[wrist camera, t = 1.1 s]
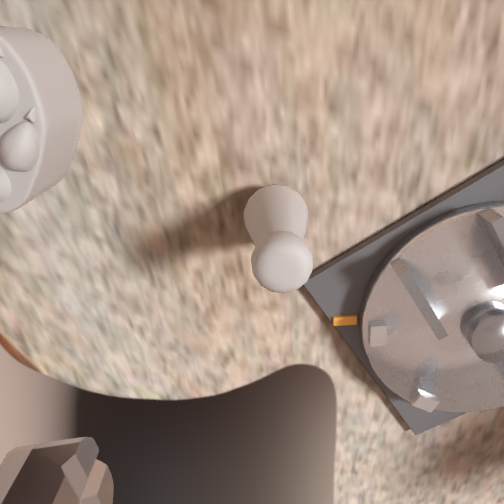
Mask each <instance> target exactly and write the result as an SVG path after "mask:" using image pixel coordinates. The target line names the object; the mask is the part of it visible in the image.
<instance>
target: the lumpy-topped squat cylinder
mask: <svg viewBox="0 0 504 504" xmlns="http://www.w3.org/2000/svg"><path fill="white" fill-rule="evenodd" d="M82 121H83V109H82V103H81V99H80V94H79V90H78V87H77V83H76V80H75V77H74V75H73V72H72V70H71V68H70V66H69V64H68V63H67V61H66V60H65V58H64V56H63V55H62V53H61V52H60V51H59V49H58V48H57V47H56V46H55V45H54V44H53V43H52V42H51V41H50V40H49V39H48V38H47V37H45V36H44V35H42V34H40V33H38V32H36V31H33V30H30V29H24V28H15V27H6V26H0V214H2V213H8V212H12V211H14V210H16V209H18V208H20V207H22V206H23V205H25V204H26V203H28V202H29V201H31V200H32V199H34V198H35V197H37V196H38V195H40V194H42V193H43V192H45V191H46V190H48V189H49V188H51V187H52V186H54V185H55V184H57V183H58V182H60V181H61V180H62V179H63V177H64V176H65V174H66V173H67V171H68V168H69V166H70V164H71V161H72V159H73V156H74V154H75V151H76V148H77V144H78V141H79V137H80V132H81V127H82Z"/></svg>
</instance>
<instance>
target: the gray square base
mask: <svg viewBox="0 0 504 504" xmlns="http://www.w3.org/2000/svg"><path fill="white" fill-rule="evenodd" d="M493 201H504V159H503V160H502V161H500V162H498V163H497V164H495V165H493V166H492V167H490V168H488V169H486V170H485V171H483V172H481V173H480V174H478V175H476V176H475V177H473V178H471V179H469V180H468V181H466V182H464V183H463V184H461V185H459V186H458V187H456V188H454V189H453V190H451V191H449V192H447V193H446V194H444V195H442V196H441V197H439V198H437V199H436V200H434V201H432V202H431V203H429V204H427V205H425V206H424V207H422V208H420V209H419V210H417V211H415V212H414V213H412V214H410V215H408V216H407V217H405V218H403V219H402V220H400V221H398V222H397V223H395V224H393V225H392V226H390V227H388V228H386V229H385V230H383V231H381V232H380V233H378V234H376V235H375V236H373V237H371V238H370V239H368V240H366V241H364V242H363V243H361V244H359V245H358V246H356V247H354V248H353V249H351V250H349V251H347V252H346V253H344V254H342V255H341V256H339V257H337V258H336V259H334V260H332V261H331V262H329V263H327V264H325V265H324V266H322V267H320V268H319V269H317V270H315V271H314V272H312V273H311V275H310V277H309V279H308V281H307V282H306V283H305V284H304V286H305V287H306V289H307V290H308V291H309V293H310V294H311V295H312V297H313V298H314V299H315V301H316V302H317V303H318V305H319V306H320V307H321V309H322V310H323V312H324V313H325V314H326V316H327V317H328V318H329V320H330V321H331V322H332V324H333V325H334V326H335V328H336V329H337V330H338V332H339V333H340V334H341V336H342V337H343V338H344V340H345V341H346V342H347V344H348V345H349V346H350V348H351V349H352V350H353V352H354V353H355V355H356V356H357V357H358V359H359V360H360V361H361V363H362V364H363V365H364V367H365V368H366V369H367V371H368V372H369V373H370V375H371V376H372V377H373V379H374V380H375V381H376V383H377V384H378V385H379V387H380V388H381V389H382V391H383V392H384V394H385V395H386V396H387V398H388V399H389V400H390V402H391V403H392V404H393V406H394V407H395V408H396V410H397V411H398V412H399V414H400V415H401V416H402V418H403V419H404V420H405V422H406V423H407V424H408V426H409V427H410V428H411V430H412V431H413V433H414V434H415V435H417V434H420V433H422V432H424V431H426V430H429V429H431V428H433V427H435V426H438V425H440V424H442V423H444V422H447V421H449V420H451V419H453V418H456V417H458V416H460V415H462V414H465V413H467V412H446V411H439V410H433V411H432V412H431V413H430V412H428V411H425V410H422V409H420V408H417V407H415V406H412V404H411V402H409V401H407V400H405V399H403V398H402V397H400V396H399V395H397V394H395V393H394V392H393V391H392V390H390V389H389V388H388V387H387V386H386V385H385V384H384V383H383V382H382V381H381V380H380V378H379V377H378V376H377V374H376V373H375V371H374V370H373V368H372V366H371V364H370V361H369V359H368V356H367V354H366V351H365V348H364V346H363V343H362V338H361V334H360V310H361V304H362V301H363V297H364V293H365V291H366V289H367V286H368V284H369V281H370V280H371V278H372V276H373V274H374V273H375V271H376V269H377V268H378V266H379V265H380V264H381V262H382V261H383V260H384V258H385V257H386V256H387V255H388V254H389V253H390V252H391V251H392V250H393V249H394V248H395V246H396V245H397V244H398V243H400V242H401V241H402V240H403V239H404V238H406V237H407V236H408V235H409V234H411V233H412V232H413V231H415V230H416V229H418V228H419V227H421V226H423V225H424V224H426V223H427V222H429V221H431V220H433V219H435V218H437V217H439V216H441V215H443V214H446V213H448V212H451V211H454V210H456V209H459V208H463V207H467V206H470V205H474V204H479V203H486V202H493Z"/></svg>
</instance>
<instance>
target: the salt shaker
mask: <svg viewBox="0 0 504 504" xmlns="http://www.w3.org/2000/svg"><path fill="white" fill-rule="evenodd" d="M243 214H244V222H245V227H246V229H247V231H248V233H249V235H250V237H251V239H252V240H253V242H254V244H255V249H254V251H253V253H252V257H251V263H252V271H253V274H254V276H255V278H256V279H257V281H258V282H259V284H260V285H261V286H262V287H264V288H266V289H268V290H270V291H271V292H279V293H287V292H291V291H294V290H297V289H299V288H300V287H301V286H302V285H304V284H305V283H306V282H307V281H308V279H309V277H310V275H311V272H312V269H313V258H312V252H311V250H310V248H309V247H308V245H307V243H306V242H305V240H304V236H305V232H306V227H307V222H308V212H307V206H306V204H305V202H304V200H303V199H302V197H301V195H300V194H299V193H297V192H296V191H294V190H293V189H291V188H290V187H288V186H283V185H275V184H272V185H269V186H266V187H263V188H260V189H258V190H257V191H256V192H255V193H254V194H253V195H252V196H251V197H250V198H249V200H248V202H247V205H246V207H245V210H244V212H243Z"/></svg>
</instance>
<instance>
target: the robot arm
mask: <svg viewBox="0 0 504 504" xmlns="http://www.w3.org/2000/svg"><path fill="white" fill-rule="evenodd" d="M98 451H99V448H98V447H97V445H96V443H95V441H94V439H93V438H90V437H81V438H74V439H67V440H60V441H53V442H45V443H40V444H35V445H28V446H20V447H16V448H14V449H13V450H11V451H10V452H8V453H7V455H6V457H5V458H4V460H3V461H2V463H1V465H0V504H112V501H113V481H112V476H111V473H110V471H109V469H108V466H107V465H106V464H104V463H102V462H101V461H99V460H97V459H96V457H97V454H98Z"/></svg>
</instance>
